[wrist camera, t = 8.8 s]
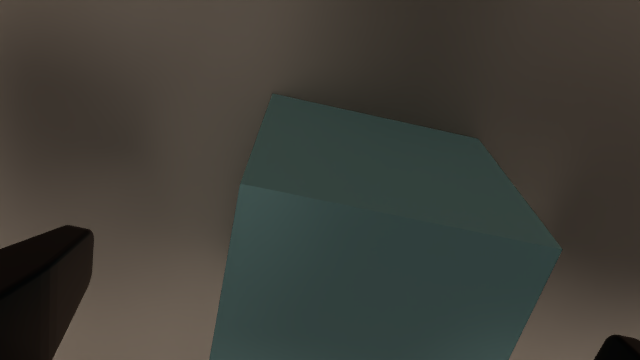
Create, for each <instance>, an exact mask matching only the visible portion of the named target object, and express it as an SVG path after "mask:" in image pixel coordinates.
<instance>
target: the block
mask: <svg viewBox="0 0 640 360" xmlns="http://www.w3.org/2000/svg"><path fill="white" fill-rule="evenodd" d="M562 250H563V249H562V248H561V247H560V245H559V244H558V243H557V242H556V240H555V239H554V238H553V236H552V235H551V234H550V232H549V231H548V230H547V228H546V227H545V226H544V224H543V223H542V222H541V221H540V219H539V218H538V217H537V215H536V214H535V213H534V211H533V210H532V209H531V207H530V206H529V205H528V203H527V202H526V201H525V199H524V198H523V197H522V196H521V194H520V193H519V192H518V190H517V189H516V188H515V186H514V185H513V184H512V182H511V181H510V180H509V178H508V177H507V176H506V175H505V173H504V172H503V171H502V169H501V168H500V167H499V165H498V164H497V163H496V161H495V160H494V159H493V157H492V156H491V155H490V154H489V152H488V151H487V150H486V148H485V147H484V146H483V144H482V143H481V142H480V140H479V139H477V138H473V137H468V136H464V135H459V134H454V133H450V132H445V131H441V130H436V129H432V128H427V127H423V126H418V125H414V124H409V123H405V122H400V121H395V120H391V119H386V118H382V117H377V116H373V115H368V114H364V113H359V112H355V111H350V110H345V109H341V108H336V107H332V106H327V105H323V104H318V103H314V102H309V101H305V100H300V99H296V98H291V97H286V96H282V95H277V94H272V96H271V99H270V102H269V105H268V108H267V110H266V113H265V116H264V119H263V121H262V124H261V127H260V130H259V133H258V135H257V138H256V141H255V144H254V146H253V149H252V152H251V155H250V158H249V160H248V163H247V166H246V169H245V172H244V174H243V177H242V180H241V183H240V187H239V193H238V199H237V205H236V210H235V216H234V222H233V227H232V233H231V239H230V245H229V250H228V256H227V262H226V268H225V273H224V279H223V285H222V290H221V296H220V302H219V308H218V313H217V319H216V325H215V330H214V336H213V342H212V348H211V353H210V359H209V360H508V359H509V357H510V355H511V353H512V351H513V349H514V347H515V345H516V343H517V341H518V339H519V337H520V335H521V333H522V331H523V329H524V327H525V325H526V323H527V321H528V319H529V317H530V315H531V313H532V311H533V309H534V307H535V305H536V303H537V300H538V298H539V296H540V294H541V292H542V290H543V288H544V286H545V284H546V282H547V280H548V278H549V276H550V274H551V272H552V270H553V268H554V266H555V264H556V262H557V260H558V258H559V256H560V254H561V252H562Z"/></svg>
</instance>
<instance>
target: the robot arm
mask: <svg viewBox="0 0 640 360" xmlns="http://www.w3.org/2000/svg"><path fill="white" fill-rule="evenodd" d="M93 247H94V235H93V232H92V231H91V230H90V229H86V228H81V227H76V226H71V225H65V226H62V227H59V228H56V229H54V230H51V231H48V232H46V233H43V234H40V235H37V236H35V237H32V238H29V239H26V240H24V241H21V242H18V243H16V244H13V245H10V246H7V247H5V248H2V249H0V360H52V359H53V357H54V355H55V353H56V351H57V349H58V347H59V345H60V343H61V341H62V339H63V336H64V334H65V332H66V330H67V328H68V326H69V324H70V322H71V320H72V318H73V316H74V314H75V312H76V310H77V308H78V306H79V304H80V302H81V300H82V298H83V296H84V294H85V292H86V289H87V287H88V285H89V282H90V279H91V275H92V265H93ZM594 360H640V341H639V340H637V339H635V338H631V337H626V336H621V335H611V336H609V337H608V338H607V339H606V340H605V342H604V343H603V345H602V347H601V348H600V350H599V352H598V353H597V355H596V357H595V359H594Z"/></svg>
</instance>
